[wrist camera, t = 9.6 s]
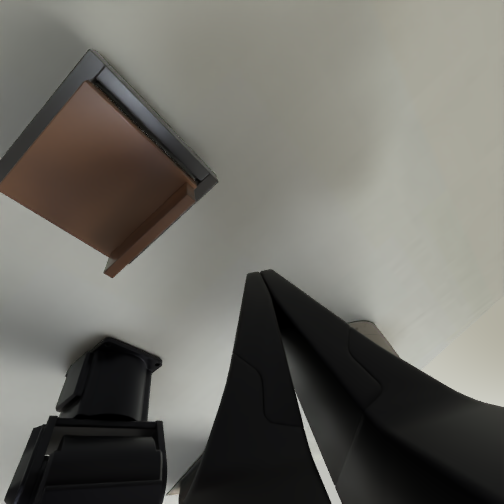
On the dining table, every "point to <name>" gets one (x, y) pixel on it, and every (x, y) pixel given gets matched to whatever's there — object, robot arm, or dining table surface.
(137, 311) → the dining table surface
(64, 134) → the brown box
